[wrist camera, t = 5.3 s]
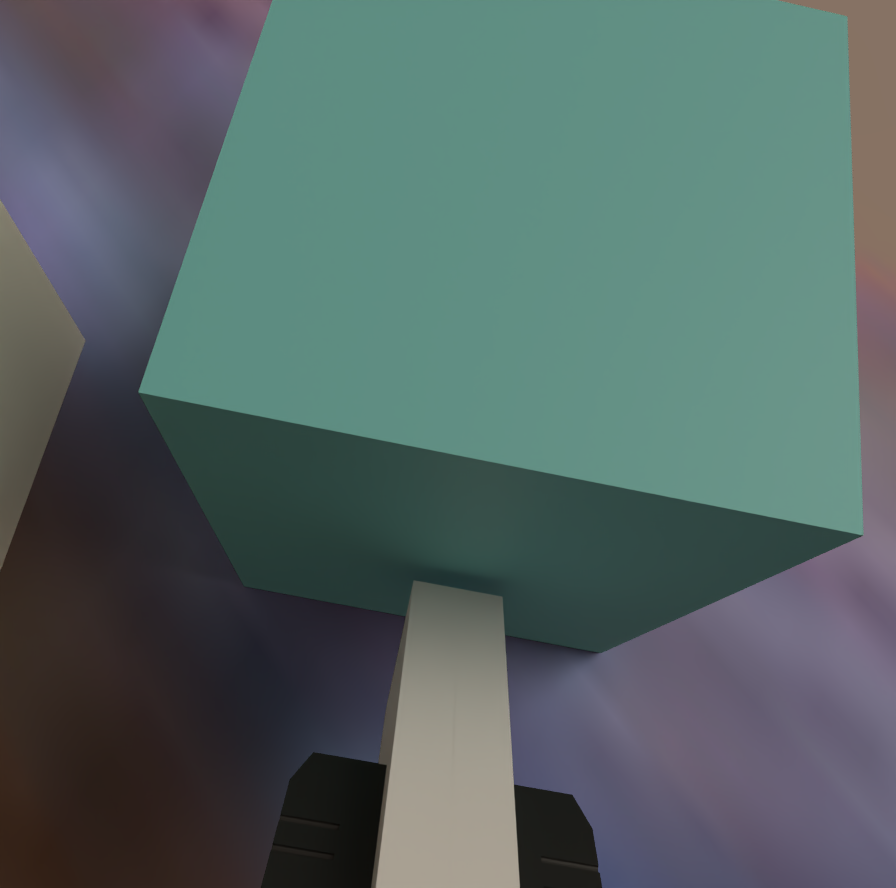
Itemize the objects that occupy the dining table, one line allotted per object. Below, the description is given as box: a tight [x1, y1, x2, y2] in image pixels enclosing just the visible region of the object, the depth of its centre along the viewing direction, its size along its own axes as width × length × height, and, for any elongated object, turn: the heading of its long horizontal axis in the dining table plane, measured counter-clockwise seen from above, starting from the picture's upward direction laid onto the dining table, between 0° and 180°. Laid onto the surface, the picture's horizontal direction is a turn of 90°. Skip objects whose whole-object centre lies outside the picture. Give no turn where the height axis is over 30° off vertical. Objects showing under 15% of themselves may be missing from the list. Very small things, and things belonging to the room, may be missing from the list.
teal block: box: [138, 0, 863, 653], centre depth 15 cm, size 8×8×10 cm
